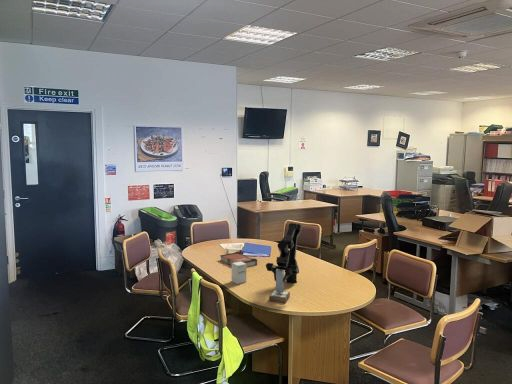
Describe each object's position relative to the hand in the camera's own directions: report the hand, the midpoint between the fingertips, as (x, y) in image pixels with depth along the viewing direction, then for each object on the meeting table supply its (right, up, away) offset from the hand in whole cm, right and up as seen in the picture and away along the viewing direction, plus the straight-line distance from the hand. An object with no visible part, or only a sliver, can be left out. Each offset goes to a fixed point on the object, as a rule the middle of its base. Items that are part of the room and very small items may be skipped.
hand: (279, 281), depth 232 cm
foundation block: (0, -11, +3) cm, 11 cm away
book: (-28, -3, +74) cm, 79 cm away
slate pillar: (0, -6, +2) cm, 7 cm away
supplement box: (-25, -8, +31) cm, 41 cm away
